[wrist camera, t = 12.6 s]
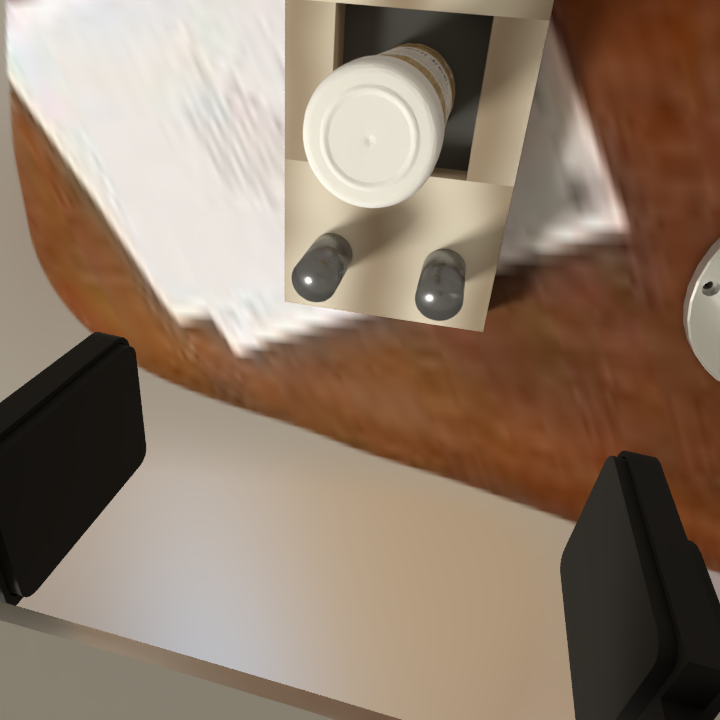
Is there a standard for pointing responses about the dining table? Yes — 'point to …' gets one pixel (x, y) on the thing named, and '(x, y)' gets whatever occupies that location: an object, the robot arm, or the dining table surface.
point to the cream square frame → (450, 175)
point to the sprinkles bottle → (379, 125)
